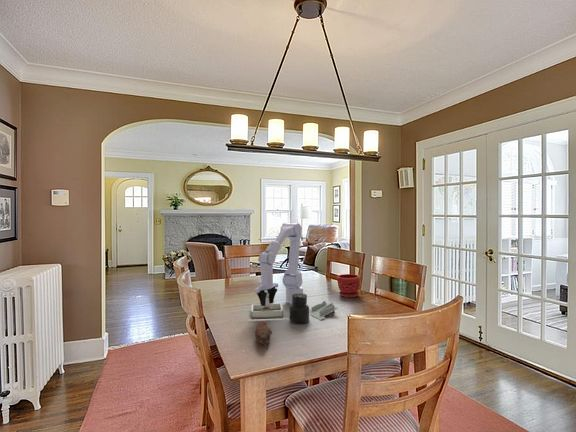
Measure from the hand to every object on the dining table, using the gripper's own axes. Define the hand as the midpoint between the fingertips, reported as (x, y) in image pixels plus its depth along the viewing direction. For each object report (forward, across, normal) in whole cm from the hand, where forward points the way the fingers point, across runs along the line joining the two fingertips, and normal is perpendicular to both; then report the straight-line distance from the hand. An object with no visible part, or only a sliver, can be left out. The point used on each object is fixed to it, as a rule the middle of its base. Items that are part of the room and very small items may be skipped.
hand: (267, 304), depth 155 cm
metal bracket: (+6, -18, +20) cm, 28 cm away
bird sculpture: (+5, +23, +19) cm, 31 cm away
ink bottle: (+5, -2, +18) cm, 19 cm away
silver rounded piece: (+4, 0, -1) cm, 4 cm away
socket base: (+5, -9, -8) cm, 13 cm away
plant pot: (+5, -56, +14) cm, 58 cm away
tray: (+5, 0, 0) cm, 5 cm away
